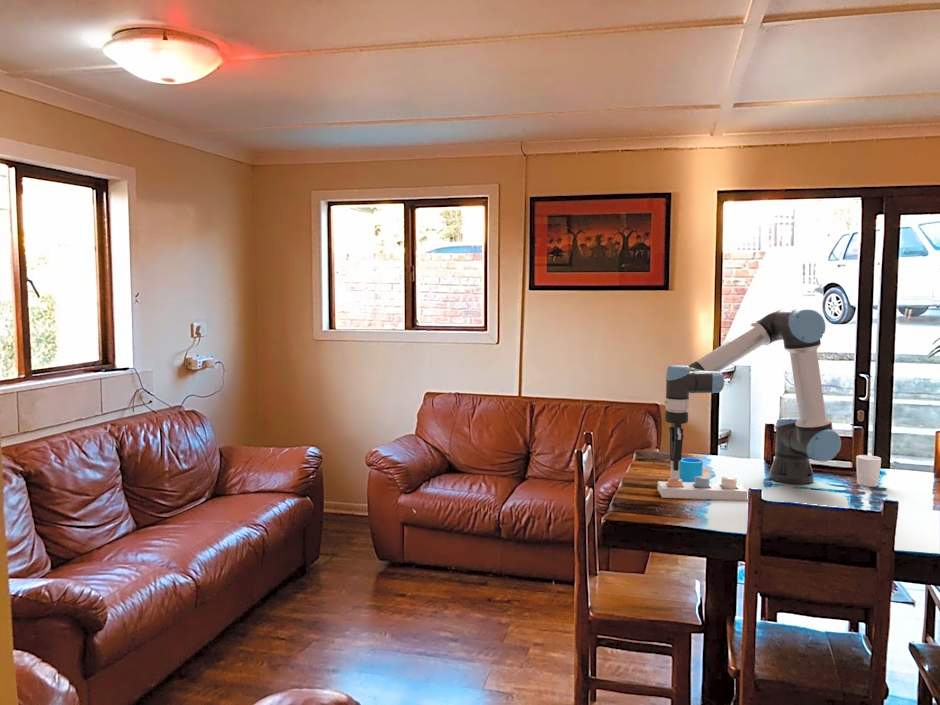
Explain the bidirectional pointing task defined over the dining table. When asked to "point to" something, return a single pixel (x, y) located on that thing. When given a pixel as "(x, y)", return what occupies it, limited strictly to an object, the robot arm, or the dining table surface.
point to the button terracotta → (674, 483)
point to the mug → (690, 469)
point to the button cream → (728, 483)
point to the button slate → (701, 482)
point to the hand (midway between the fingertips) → (674, 478)
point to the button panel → (702, 491)
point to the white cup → (868, 470)
